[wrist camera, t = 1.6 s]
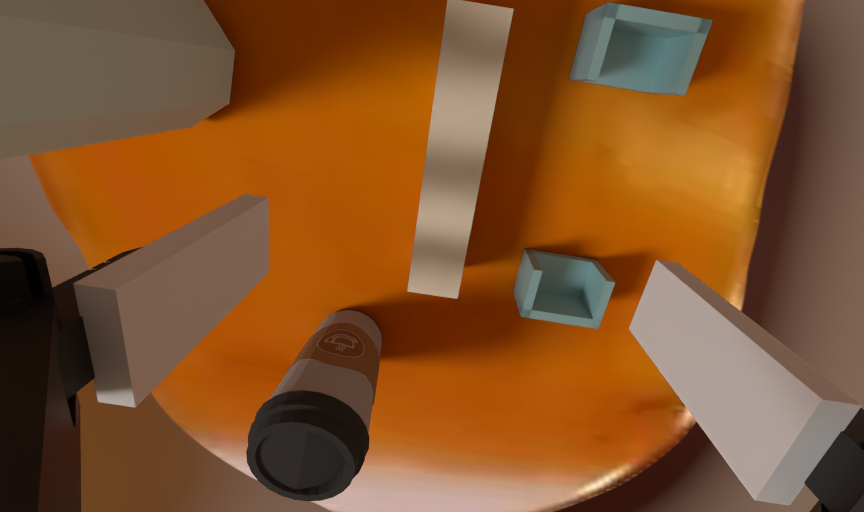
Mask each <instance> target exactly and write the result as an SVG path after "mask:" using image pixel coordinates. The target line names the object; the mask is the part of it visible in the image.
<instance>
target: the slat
mask: <svg viewBox="0 0 864 512" xmlns="http://www.w3.org/2000/svg"><path fill="white" fill-rule="evenodd" d="M513 10H514V9H513V8H507V7H500V6H494V5H488V4H482V3H476V2H470V1H463V0H447V7H446V14H445V21H444V28H443V36H442V43H441V50H440V58H439V65H438V72H437V79H436V87H435V94H434V101H433V109H432V116H431V123H430V130H429V138H428V145H427V152H426V160H425V167H424V174H423V181H422V189H421V196H420V203H419V211H418V218H417V225H416V232H415V240H414V247H413V254H412V262H411V269H410V276H409V283H408V292H414V293H421V294H428V295H435V296H441V297H448V298H455V299H458V294H459V289H460V283H461V278H462V273H463V268H464V263H465V258H466V252H467V247H468V242H469V237H470V232H471V227H472V222H473V216H474V211H475V206H476V201H477V196H478V191H479V185H480V180H481V175H482V170H483V165H484V160H485V155H486V149H487V144H488V139H489V134H490V129H491V124H492V119H493V113H494V108H495V103H496V98H497V93H498V88H499V82H500V77H501V72H502V67H503V62H504V57H505V52H506V46H507V41H508V36H509V31H510V26H511V21H512V15H513Z"/></svg>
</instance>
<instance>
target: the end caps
mask: <svg viewBox="0 0 864 512" xmlns="http://www.w3.org/2000/svg"><path fill="white" fill-rule="evenodd" d="M712 21H713V20H710V19H704V18H698V17H692V16H687V15H681V14H675V13H669V12H663V11H658V10H652V9H646V8H640V7H634V6H629V5H623V4H617V3H611V2H608V3H606V4H604V5H602V6H600V7H598V8H596V9H594V10H592V11H590V12H588V13H586V16H585V20H584V24H583V27H582V31H581V35H580V39H579V43H578V46H577V50H576V54H575V58H574V62H573V65H572V69H571V73H570V77H569V80H573V81H579V82H585V83H591V84H597V85H603V86H609V87H615V88H621V89H627V90H633V91H639V92H645V93H651V94H664V95H683V96H685V94H686V91H687V89H688V86H689V83H690V81H691V78H692V75H693V72H694V70H695V67H696V64H697V62H698V59H699V56H700V54H701V51H702V48H703V46H704V43H705V40H706V38H707V35H708V32H709V29H710V27H711V24H712ZM614 285H615V281H614V280H613V279H612V278H611V277H610V275H609V274H608V273H607V272H606V270H605V269H604V268H603V267H602V266H601V264H600V263H599V262H598V261H597V260H594V259H588V258H581V257H575V256H569V255H563V254H556V253H550V252H544V251H537V250H531V249H525V248H524V252H523V256H522V260H521V264H520V267H519V271H518V275H517V279H516V283H515V286H514V290H513V293H514V296H515V299H516V303H517V306H518V309H519V313H520V316H521V317H525V318H532V319H538V320H544V321H551V322H557V323H564V324H570V325H577V326H583V327H590V328H596V329H598V328H599V325H600V323H601V320H602V317H603V315H604V312H605V309H606V307H607V304H608V301H609V298H610V296H611V293H612V290H613V288H614Z"/></svg>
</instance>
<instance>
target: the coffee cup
mask: <svg viewBox="0 0 864 512" xmlns="http://www.w3.org/2000/svg"><path fill="white" fill-rule="evenodd" d="M381 347H382V336H381V332H380V330H379V328H378V326H377V325H376V323H375V322H374V321H373V320H372V319H371V318H370V317H368V316H367V315H365V314H364V313H361V312H358V311H353V310H343V311H339V312H336V313H333V314H331V315H329V316H328V317H327V318H325V319H324V320H323V322H322V323H321V324H320V326H319V327H318V329H317V330H316V332H315V333H314V334H313V335H312V337H311V338H310V339H309V340H308V342H307V343H306V345H305V346H304V348H303V349H302V350H301V352H300V353H299V355H298V356H297V358H296V359H295V361H294V362H293V363H292V365H291V366H290V368H289V369H288V371H287V372H286V374H285V377H284V379H283V380H282V382H281V383H280V384H279V386H278V387H277V389H276V390H275V392H274V393H273V395H272V396H271V398H270V399H269V400H268V401H267V402H265V403H264V404H263V405H262V407H261V408H260V409H259V410H258V412H257V414H256V417H255V420H254V422H253V423H252V425H251V428H250V431H249V435H248V448H247V451H246V454H247V463H248V465H249V467H250V470H251V472H252V473H253V475H254V476H255V477H256V478H257V479H258V481H259V482H260V483H262V484H263V485H264V486H266V487H267V488H268V489H269V490H272V491H273V492H275V493H277V494H279V495H281V496H284V497H288V498H291V499H294V500H302V501H319V500H324V499H328V498H332V497H334V496H336V495H338V494H340V493H341V492H343V491H344V490H345V489H346V488H347V487H348V486H349V485H350V483H351V481H352V479H353V478H354V477H355V476H356V475H357V474H358V473H359V471H360V469H361V467H362V465H363V463H364V460H365V456H366V453H367V451H368V449H369V435H368V431H369V425H370V418H371V412H372V406H373V404H374V398H375V392H376V385H377V378H378V372H379V363H380V353H381Z"/></svg>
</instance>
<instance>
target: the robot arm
mask: <svg viewBox="0 0 864 512" xmlns="http://www.w3.org/2000/svg"><path fill="white" fill-rule="evenodd" d="M268 272H269V230H268V197H261V196H255V195H249V194H244V195H242V196H240V197H238V198H237V199H235V200H233V201H231V202H229V203H227V204H225V205H223V206H221V207H219V208H217V209H215V210H213V211H212V212H210V213H208V214H206V215H204V216H202V217H200V218H198V219H196V220H194V221H192V222H190V223H188V224H186V225H185V226H183V227H181V228H179V229H177V230H175V231H173V232H171V233H169V234H167V235H165V236H163V237H161V238H160V239H158V240H156V241H154V242H152V243H150V244H148V245H146V246H144V247H140V248H137V249H133V250H129V251H126V252H123V253H121V254H119V255H117V256H115V257H113V258H111V259H109V260H107V261H106V263H101V264H99V265H97V266H95V267H93V268H92V270H87V271H85V272H83V273H81V274H79V275H77V276H75V277H73V278H71V279H69V280H67V281H65V282H63V283H61V284H59V285H57V286H55V287H53V288H52V285H51V281H50V276H49V272H48V268H47V264H46V259H45V257H44V255H43V254H42V253H41V252H38V251H35V250H32V249H22V248H0V512H81V449H80V404H79V399H78V395H77V392H78V391H79V390H80V389H81V388H83V387H84V386H85V385H86V384H88V382H90V381H91V380H92V379H93V380H94V384H95V389H96V394H97V398H98V402H103V403H110V404H116V405H123V406H129V407H136V406H137V405H138V404H139V403H140V402H141V401H142V400H143V399H144V398H145V397H146V396H147V395H148V394H149V393H150V392H151V391H152V390H153V389H154V388H155V387H156V386H157V385H158V384H159V383H160V382H161V381H162V380H163V379H164V378H165V377H166V376H167V375H168V374H169V373H170V372H171V371H172V370H173V369H174V368H175V367H176V366H177V365H178V364H179V363H180V362H181V361H182V360H183V359H184V358H185V357H186V356H187V355H188V354H189V353H190V352H191V351H192V350H193V349H194V347H195V346H196V345H197V344H198V343H199V342H200V341H201V340H202V339H203V338H204V337H205V336H206V335H207V334H208V333H209V332H210V331H211V330H212V329H213V328H214V327H215V326H216V325H217V324H218V323H219V322H220V321H221V320H222V319H223V318H224V317H225V316H226V315H227V314H228V313H229V312H230V311H231V310H232V309H233V308H234V307H235V306H236V305H237V304H238V303H239V302H240V301H241V300H242V299H243V298H244V297H245V296H246V295H247V294H248V293H249V292H250V291H251V290H252V289H253V288H254V287H255V286H256V285H257V284H258V283H259V282H260V281H261V280H262V278H263V277H264V276H265V275H266V274H267V273H268ZM629 330H630V331H631V332H632V334H633V335H634V336H635V338H636V339H637V341H638V342H639V343H640V345H641V346H642V347H643V349H644V350H645V351H646V353H647V354H648V356H649V357H650V358H651V360H652V361H653V362H654V364H655V365H656V366H657V368H658V369H659V371H660V372H661V373H662V375H663V376H664V377H665V379H666V380H667V381H668V383H669V384H670V386H671V387H672V388H673V390H674V391H675V392H676V394H677V395H678V396H679V398H680V399H681V401H682V402H683V403H684V405H685V406H686V407H687V409H688V410H689V411H690V413H691V414H692V416H693V417H694V418H695V420H696V421H697V422H698V424H699V425H700V426H701V428H702V429H703V430H704V432H705V433H706V435H707V436H708V437H709V439H710V440H711V441H712V443H713V444H714V445H715V447H716V448H717V449H718V451H719V452H720V454H721V455H722V456H723V458H724V459H725V460H726V462H727V463H728V465H729V466H730V467H731V468H732V470H733V471H734V473H735V474H736V475H737V477H738V478H739V479H740V481H741V482H742V484H743V485H744V486H745V488H746V489H747V490H748V492H749V493H750V495H751V496H752V497H753V499H754V500H758V501H764V502H770V503H777V504H784V505H790V504H791V503H792V502H793V500H794V499H795V497H796V496H797V495H798V493H799V492H800V491H801V489H802V488H803V486H804V485H805V484H806V486H807V487H808V488H809V489H810V490H811V491H812V492H813V493H814V494H815V496H816V497H817V498H818V499H819V501H818V502H817V503H816V505H815V506H814V507H813V508H812V510H811V511H810V512H864V410H863V409H862V408H861V407H862V405H861V404H859V403H858V402H857V401H856V400H854V399H853V398H852V397H850V396H849V395H848V394H846V393H845V392H844V391H843V390H841V389H840V388H839V387H837V386H836V385H835V384H833V383H832V382H831V381H830V380H828V379H827V378H826V377H824V376H823V375H822V374H821V373H819V372H818V371H817V370H816V369H814V368H813V367H812V366H810V365H809V364H808V363H806V362H805V361H804V360H803V359H801V358H800V357H799V356H797V355H796V354H795V353H794V352H792V351H791V350H790V349H788V348H787V347H786V346H785V345H783V344H782V343H781V342H779V341H778V340H777V339H776V338H774V337H773V336H772V335H770V334H769V333H768V332H767V331H765V330H764V329H763V328H761V327H760V326H759V325H758V324H756V323H755V322H754V321H752V320H751V319H750V318H749V317H747V316H746V315H745V314H743V313H742V312H741V311H740V310H738V309H737V308H736V307H734V306H733V305H732V304H730V303H729V302H728V301H727V300H725V299H724V298H723V297H721V296H720V295H719V294H718V293H716V292H715V291H714V290H712V289H711V288H710V287H709V286H707V285H706V284H705V283H703V282H702V281H701V280H700V279H698V278H697V277H696V276H694V275H693V274H692V273H691V272H689V271H688V270H687V269H685V268H684V267H683V266H682V265H680V264H679V263H674V262H667V261H661V260H656V262H655V265H654V267H653V270H652V272H651V275H650V277H649V280H648V282H647V285H646V287H645V290H644V292H643V295H642V297H641V300H640V302H639V305H638V307H637V310H636V312H635V315H634V317H633V320H632V322H631V325H630V327H629Z"/></svg>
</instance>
